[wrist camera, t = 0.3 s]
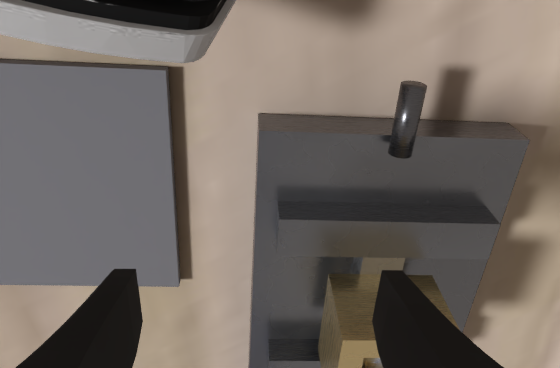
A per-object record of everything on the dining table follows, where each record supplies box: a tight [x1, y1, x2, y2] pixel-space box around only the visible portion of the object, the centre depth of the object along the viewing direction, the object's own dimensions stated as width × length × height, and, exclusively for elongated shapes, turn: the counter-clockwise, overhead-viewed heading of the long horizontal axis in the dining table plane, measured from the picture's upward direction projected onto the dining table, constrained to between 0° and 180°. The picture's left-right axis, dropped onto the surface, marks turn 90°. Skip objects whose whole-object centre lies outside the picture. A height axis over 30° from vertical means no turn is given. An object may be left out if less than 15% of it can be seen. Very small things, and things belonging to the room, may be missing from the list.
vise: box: [249, 81, 530, 368], centre depth 23 cm, size 20×12×6 cm, turn 177°
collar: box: [318, 274, 459, 368], centre depth 22 cm, size 5×5×4 cm
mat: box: [0, 59, 180, 287], centre depth 23 cm, size 12×10×1 cm
